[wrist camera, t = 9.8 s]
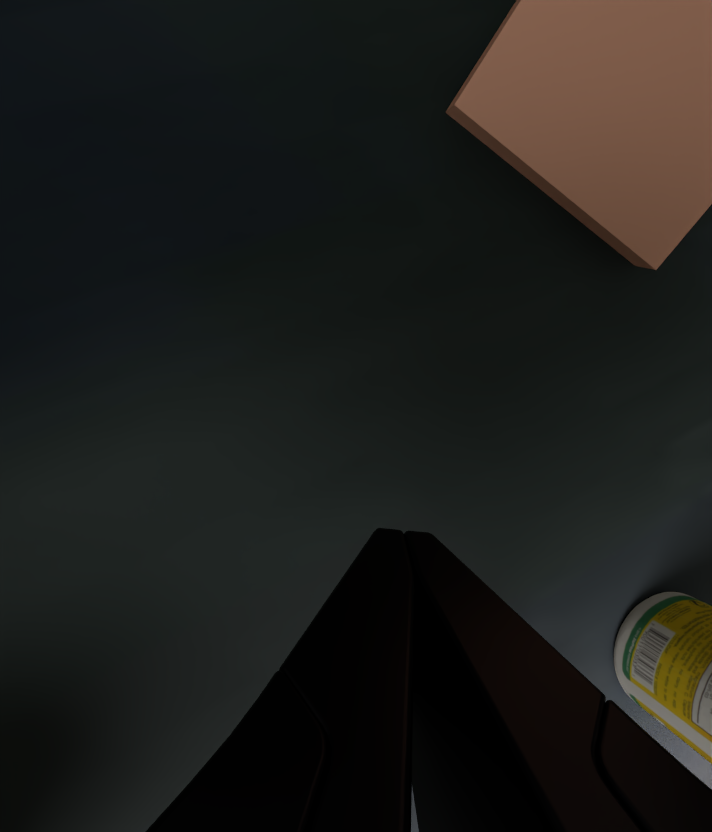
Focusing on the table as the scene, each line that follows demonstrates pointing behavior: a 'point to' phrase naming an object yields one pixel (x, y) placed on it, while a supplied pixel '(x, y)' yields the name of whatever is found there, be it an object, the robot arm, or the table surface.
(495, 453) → the table surface
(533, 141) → the domino
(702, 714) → the supplement bottle
